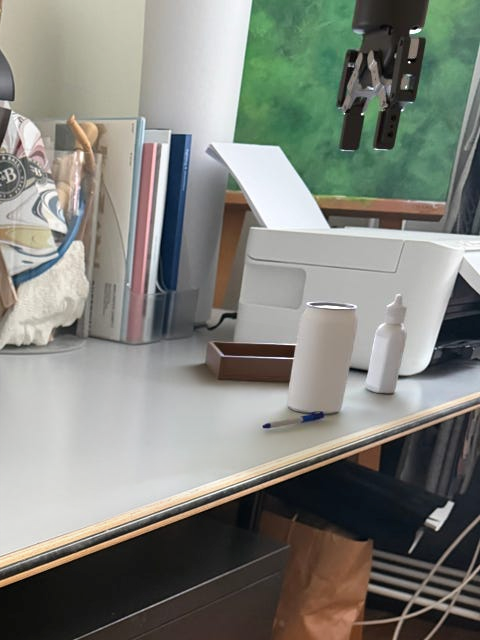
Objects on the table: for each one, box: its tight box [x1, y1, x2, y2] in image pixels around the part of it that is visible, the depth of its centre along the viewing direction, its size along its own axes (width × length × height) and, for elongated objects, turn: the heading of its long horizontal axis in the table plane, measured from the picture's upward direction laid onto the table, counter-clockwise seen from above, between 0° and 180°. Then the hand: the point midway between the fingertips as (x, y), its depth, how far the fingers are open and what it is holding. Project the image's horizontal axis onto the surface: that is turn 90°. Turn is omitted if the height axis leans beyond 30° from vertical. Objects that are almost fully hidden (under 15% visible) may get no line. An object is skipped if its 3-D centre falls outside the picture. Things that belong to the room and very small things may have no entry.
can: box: [286, 301, 359, 416], centre depth 111 cm, size 6×6×12 cm
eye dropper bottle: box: [365, 293, 408, 394], centre depth 122 cm, size 4×6×12 cm
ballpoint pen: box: [261, 411, 326, 430], centre depth 106 cm, size 10×1×1 cm, turn 127°
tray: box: [204, 340, 296, 383], centre depth 133 cm, size 14×12×3 cm
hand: (364, 150), depth 107 cm, fingers open, 8 cm apart
